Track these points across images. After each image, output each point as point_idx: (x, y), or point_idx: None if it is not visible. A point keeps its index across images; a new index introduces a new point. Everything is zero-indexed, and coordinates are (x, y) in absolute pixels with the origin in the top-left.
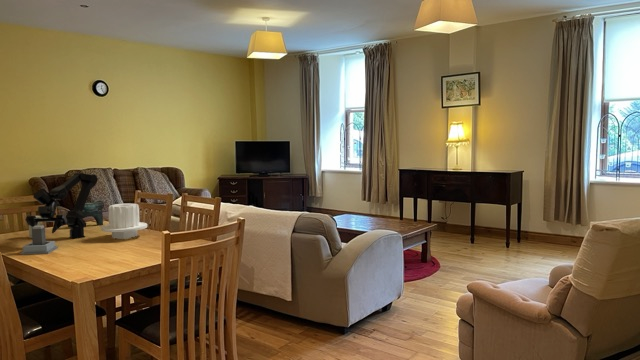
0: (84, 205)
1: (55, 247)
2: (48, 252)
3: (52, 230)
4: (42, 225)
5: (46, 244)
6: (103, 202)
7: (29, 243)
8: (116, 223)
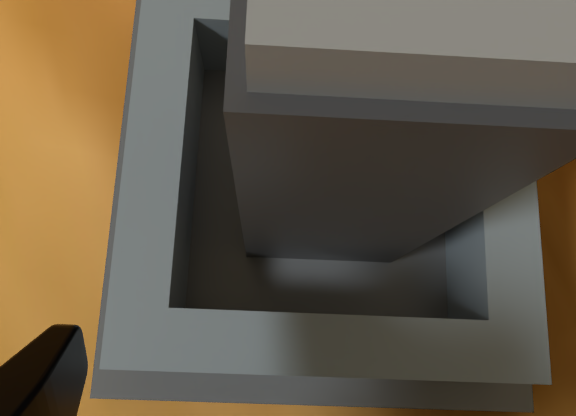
0: None
1: (104, 277)
2: (138, 11)
3: (41, 366)
4: (316, 22)
5: (172, 53)
6: None
7: (522, 211)
8: None
